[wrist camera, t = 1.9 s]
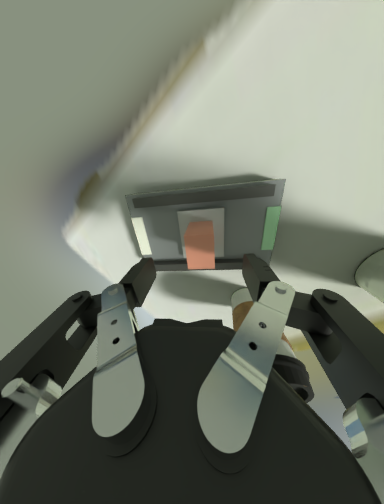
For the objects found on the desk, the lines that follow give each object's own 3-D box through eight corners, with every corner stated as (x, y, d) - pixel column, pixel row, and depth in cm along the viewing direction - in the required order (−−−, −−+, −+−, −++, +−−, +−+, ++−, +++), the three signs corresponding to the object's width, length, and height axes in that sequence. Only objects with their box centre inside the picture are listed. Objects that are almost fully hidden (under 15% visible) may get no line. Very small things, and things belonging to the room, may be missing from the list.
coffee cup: (239, 276, 26) (273, 375, 13) (276, 293, 27) (342, 401, 14) (217, 303, 30) (225, 399, 17) (250, 317, 31) (282, 418, 18)
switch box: (274, 179, 18) (291, 178, 14) (262, 256, 24) (272, 270, 20) (135, 193, 21) (119, 196, 17) (153, 260, 26) (144, 273, 23)
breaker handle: (223, 206, 17) (230, 217, 12) (223, 254, 21) (228, 279, 15) (177, 210, 18) (166, 222, 13) (184, 256, 21) (177, 280, 16)
